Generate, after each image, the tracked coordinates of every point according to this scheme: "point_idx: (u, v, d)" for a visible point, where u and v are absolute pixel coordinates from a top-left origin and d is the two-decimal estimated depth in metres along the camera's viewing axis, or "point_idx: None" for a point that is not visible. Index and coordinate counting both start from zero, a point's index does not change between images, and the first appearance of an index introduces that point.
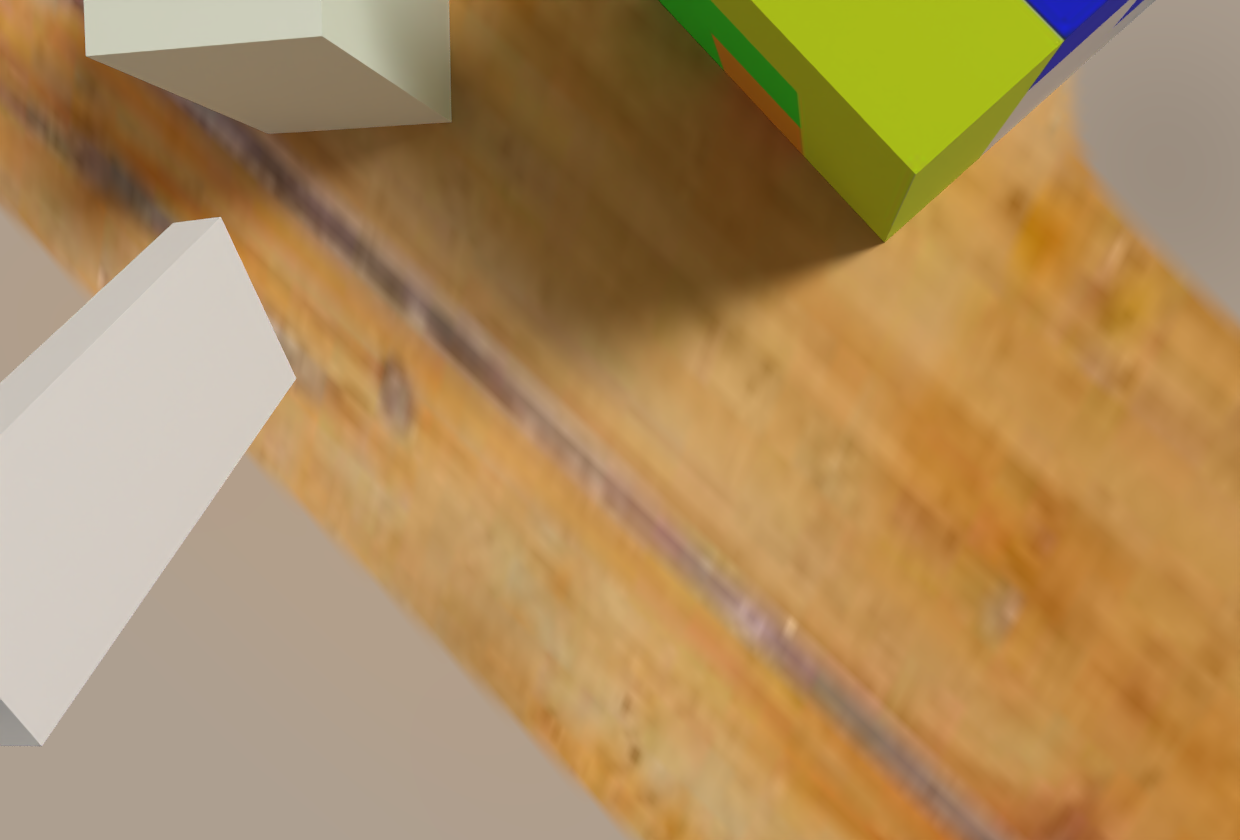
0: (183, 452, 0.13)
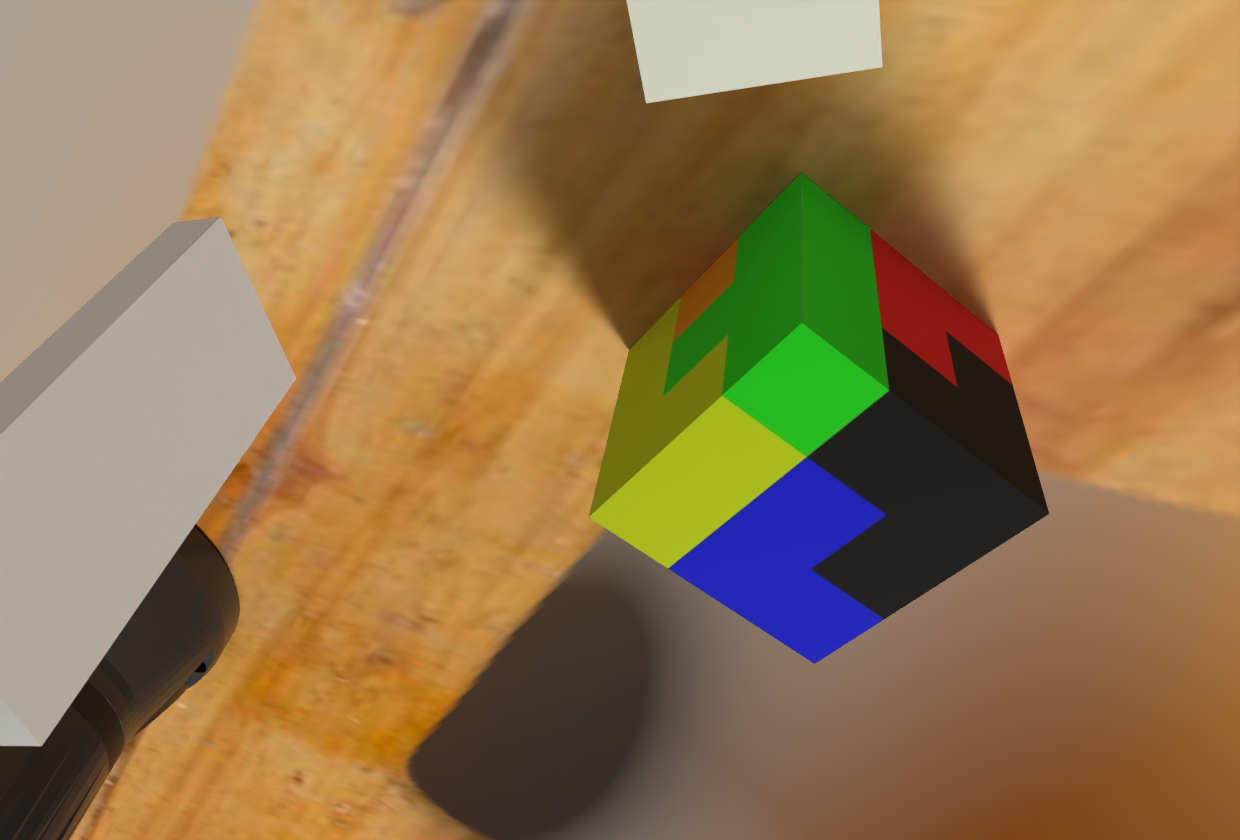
0: (183, 453, 0.13)
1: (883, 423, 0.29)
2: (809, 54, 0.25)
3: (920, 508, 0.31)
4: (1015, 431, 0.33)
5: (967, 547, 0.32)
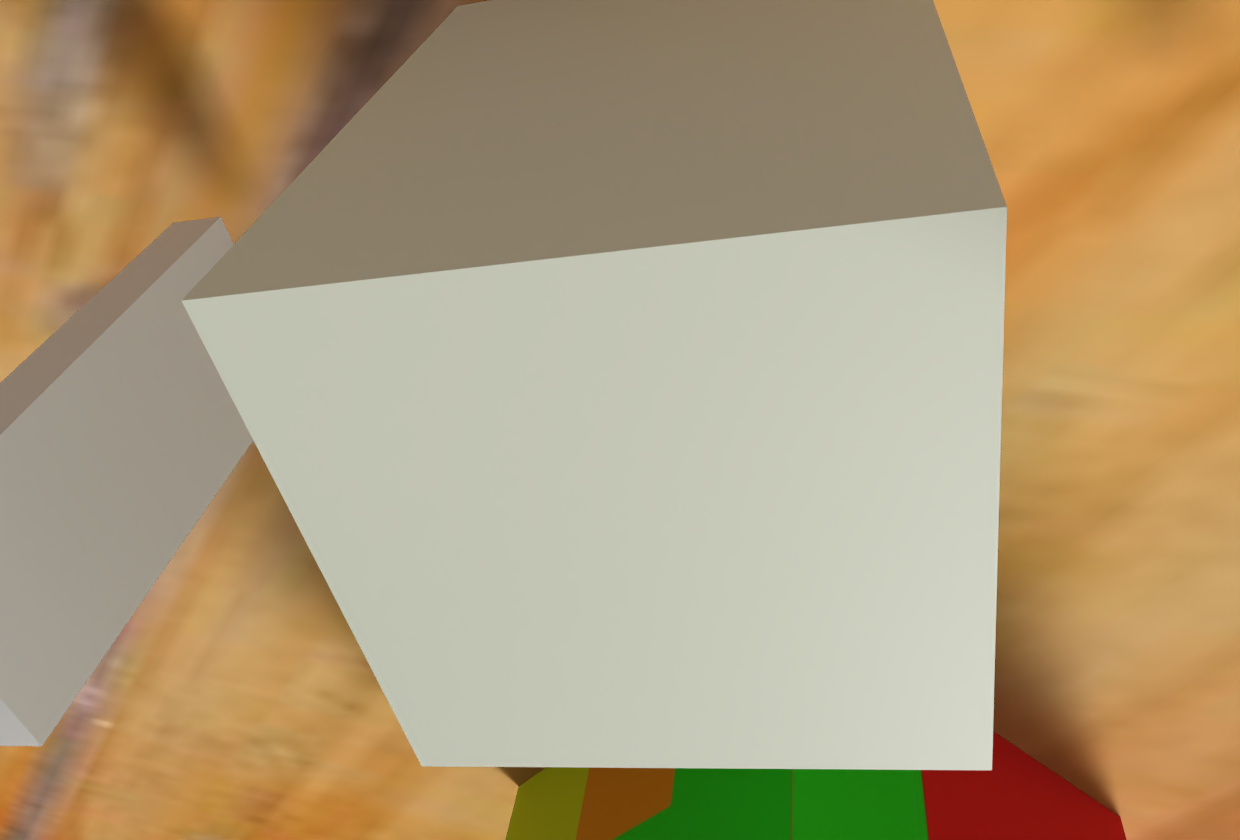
0: (183, 453, 0.13)
1: None
2: (806, 732, 0.10)
3: None
4: None
5: None
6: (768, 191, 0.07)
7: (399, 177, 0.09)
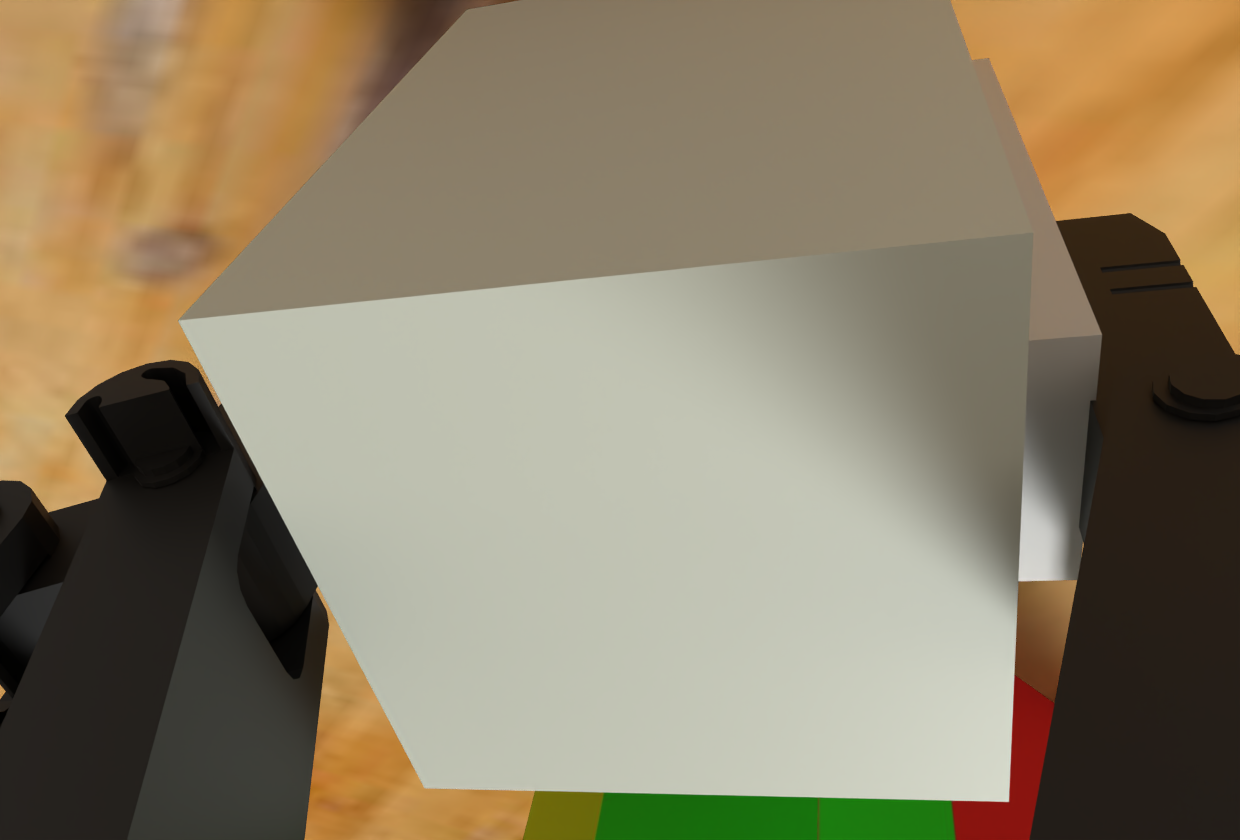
0: None
1: None
2: (818, 760, 0.10)
3: None
4: None
5: None
6: (784, 212, 0.07)
7: (404, 190, 0.09)
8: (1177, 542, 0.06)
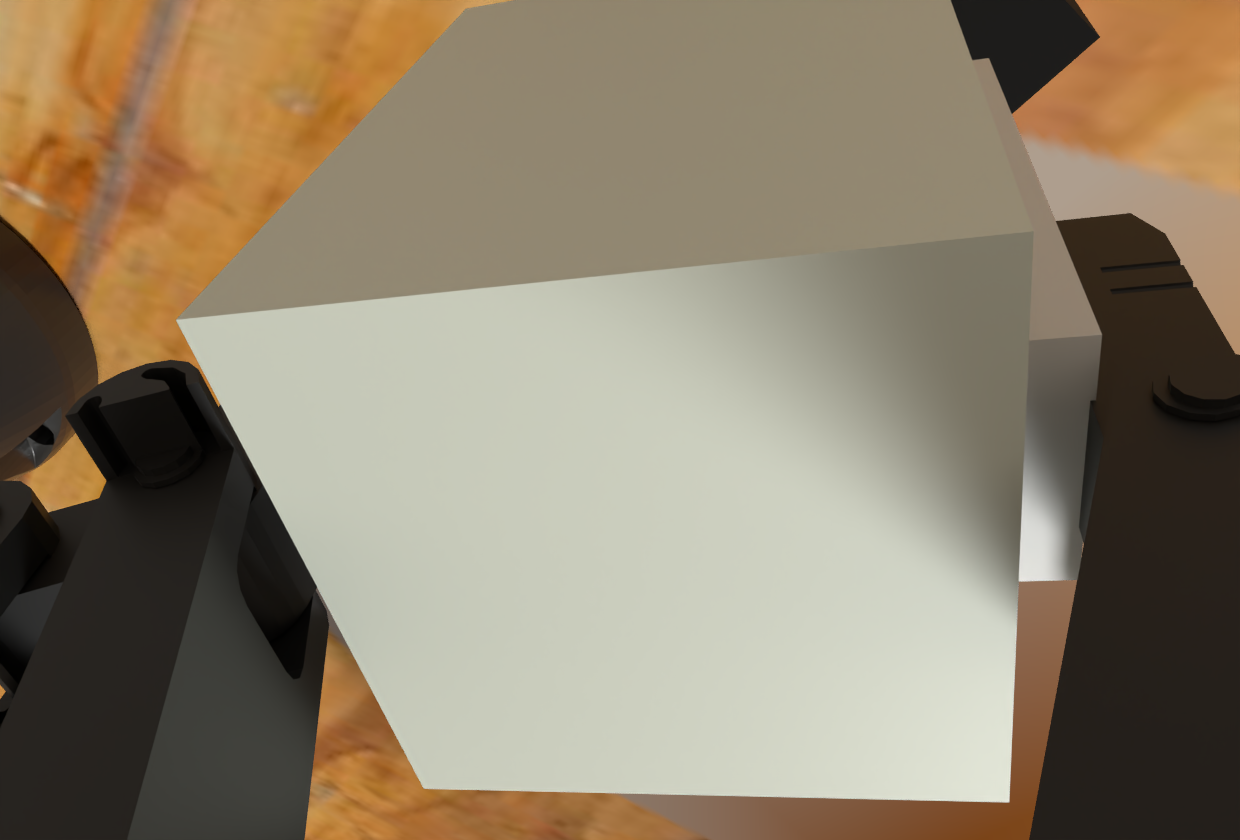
0: None
1: None
2: (818, 761, 0.10)
3: None
4: None
5: None
6: (783, 211, 0.07)
7: (402, 190, 0.09)
8: (1177, 542, 0.06)
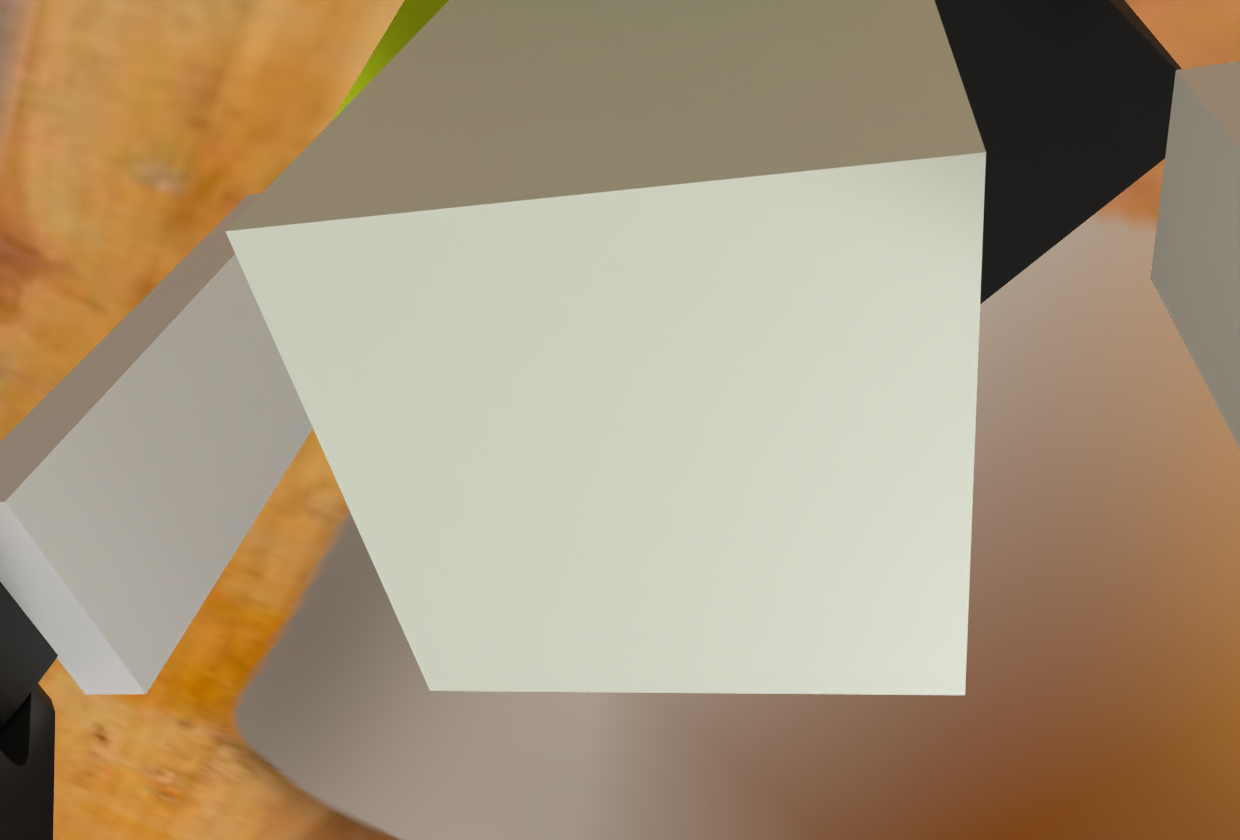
0: (264, 416, 0.13)
1: None
2: (793, 657, 0.11)
3: None
4: (1131, 12, 0.17)
5: (1038, 214, 0.16)
6: (771, 139, 0.08)
7: (425, 126, 0.10)
8: None
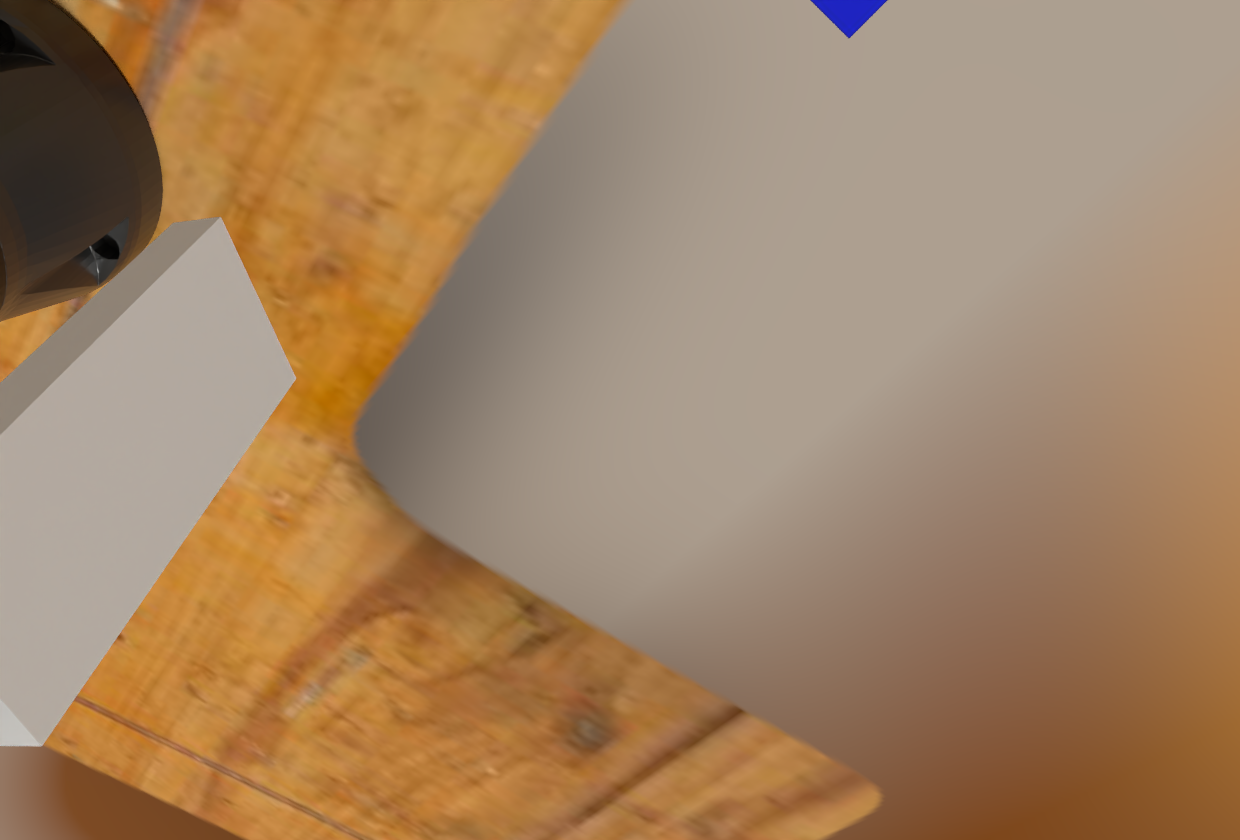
0: (183, 452, 0.13)
1: None
2: None
3: None
4: None
5: None
6: None
7: None
8: None
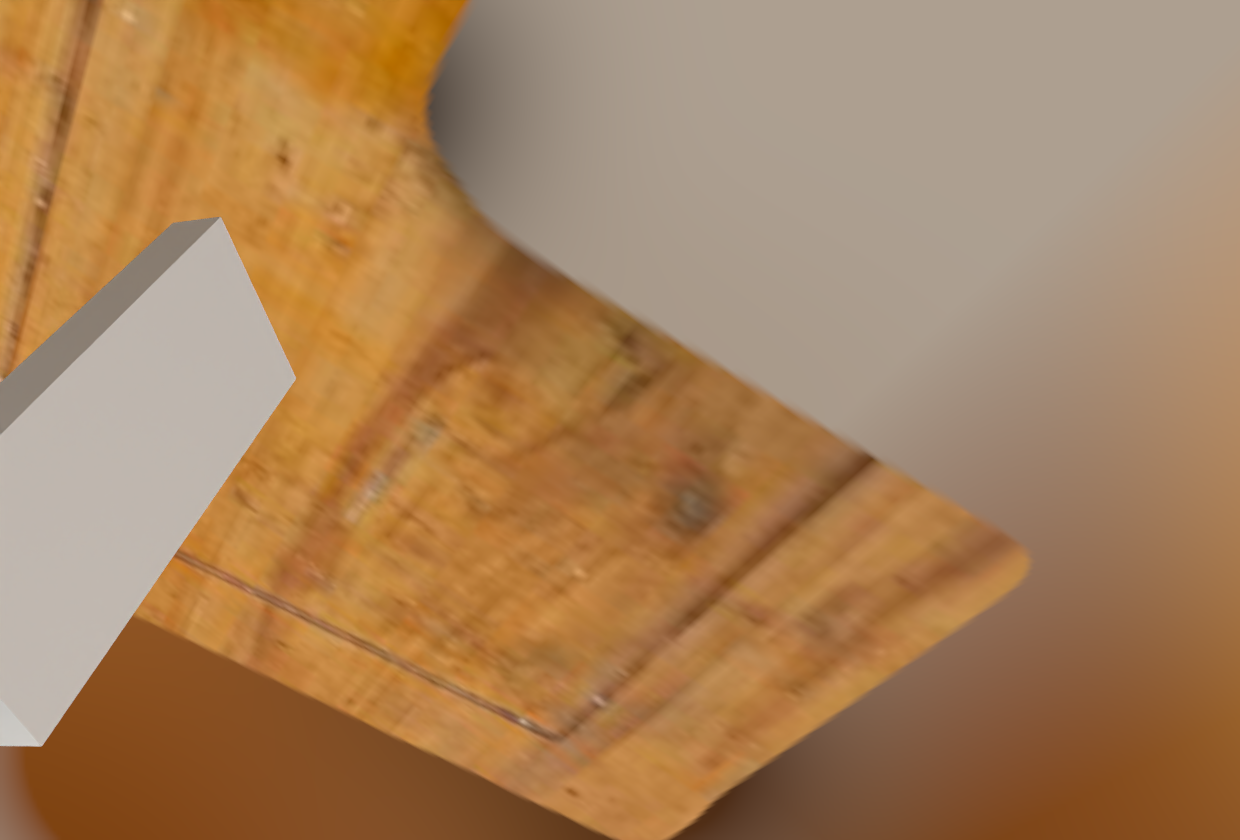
0: (183, 452, 0.13)
1: None
2: None
3: None
4: None
5: None
6: None
7: None
8: None
